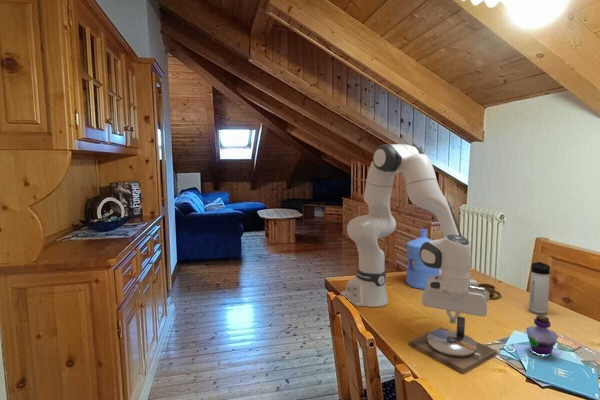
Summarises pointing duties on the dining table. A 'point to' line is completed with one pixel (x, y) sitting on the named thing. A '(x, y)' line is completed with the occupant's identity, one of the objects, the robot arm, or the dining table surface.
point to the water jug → (418, 263)
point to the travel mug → (539, 288)
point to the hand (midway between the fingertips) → (452, 322)
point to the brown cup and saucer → (490, 290)
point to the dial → (453, 341)
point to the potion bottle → (541, 336)
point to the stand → (454, 362)
